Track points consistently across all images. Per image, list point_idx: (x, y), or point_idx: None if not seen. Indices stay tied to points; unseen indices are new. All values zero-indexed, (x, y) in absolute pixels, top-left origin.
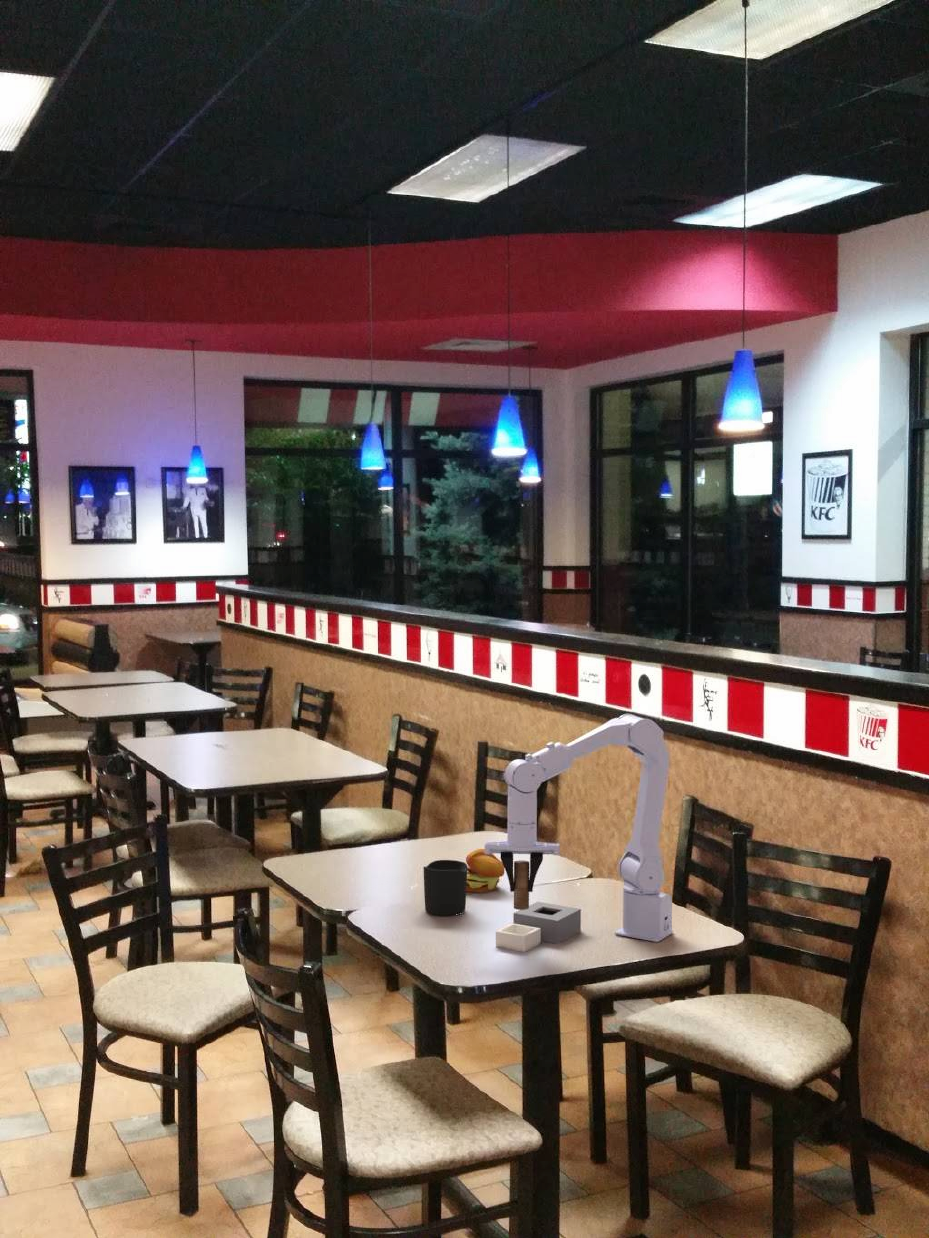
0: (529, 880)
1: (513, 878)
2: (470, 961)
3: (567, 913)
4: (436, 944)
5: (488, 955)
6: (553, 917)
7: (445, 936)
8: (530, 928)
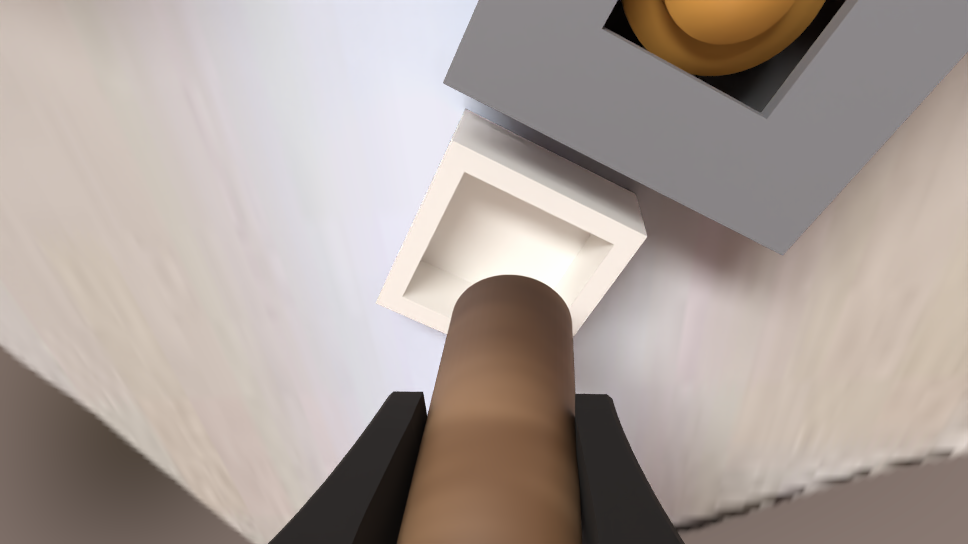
0: (584, 532)
1: (397, 509)
2: (332, 429)
3: (931, 44)
4: (109, 247)
5: (387, 369)
6: (768, 174)
7: (85, 113)
8: (580, 226)
